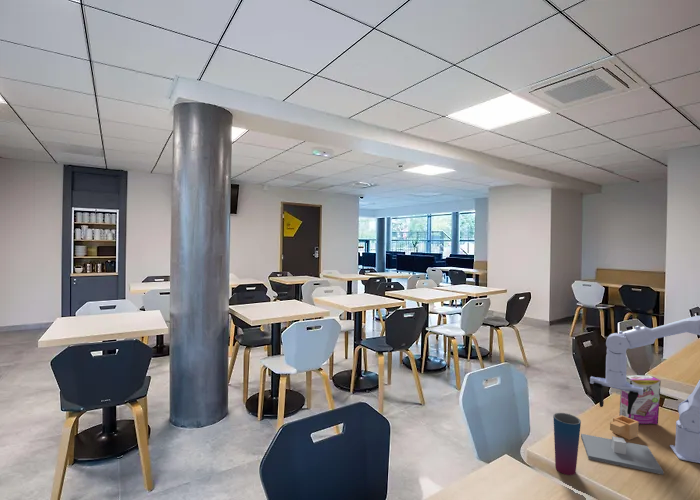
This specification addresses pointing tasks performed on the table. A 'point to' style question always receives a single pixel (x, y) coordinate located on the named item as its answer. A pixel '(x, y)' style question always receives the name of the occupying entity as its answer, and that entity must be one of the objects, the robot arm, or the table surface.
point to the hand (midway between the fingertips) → (615, 409)
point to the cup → (566, 442)
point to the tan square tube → (624, 427)
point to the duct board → (620, 453)
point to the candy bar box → (642, 399)
